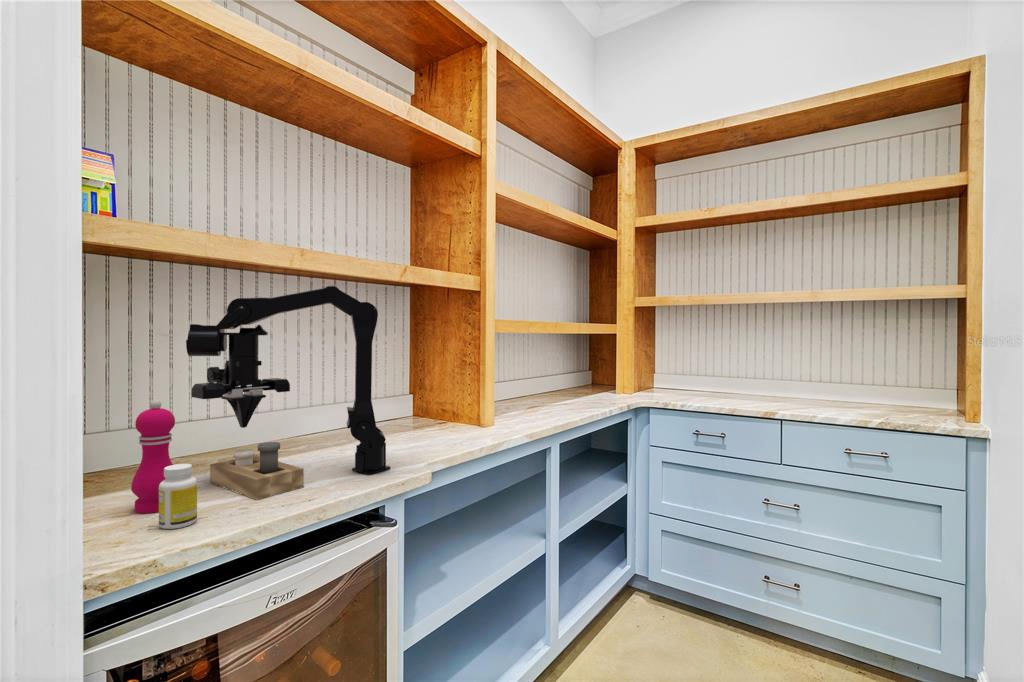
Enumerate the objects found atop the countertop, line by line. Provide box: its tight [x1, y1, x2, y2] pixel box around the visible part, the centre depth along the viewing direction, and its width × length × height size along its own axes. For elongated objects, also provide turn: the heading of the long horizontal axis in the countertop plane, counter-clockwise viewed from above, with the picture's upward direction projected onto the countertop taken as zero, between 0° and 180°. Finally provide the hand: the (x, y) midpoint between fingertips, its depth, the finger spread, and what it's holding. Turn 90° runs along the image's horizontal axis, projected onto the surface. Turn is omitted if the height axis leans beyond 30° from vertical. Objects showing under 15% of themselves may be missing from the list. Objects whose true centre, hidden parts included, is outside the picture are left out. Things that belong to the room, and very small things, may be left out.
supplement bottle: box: [158, 463, 198, 530], centre depth 85 cm, size 5×5×10 cm
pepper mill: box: [130, 399, 176, 514], centre depth 92 cm, size 7×7×20 cm
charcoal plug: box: [257, 441, 281, 474], centre depth 103 cm, size 4×4×6 cm
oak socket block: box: [209, 454, 305, 501], centre depth 106 cm, size 10×19×4 cm, turn 55°
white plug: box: [232, 448, 256, 467], centre depth 109 cm, size 4×4×6 cm
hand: (243, 427), depth 109 cm, fingers closed
